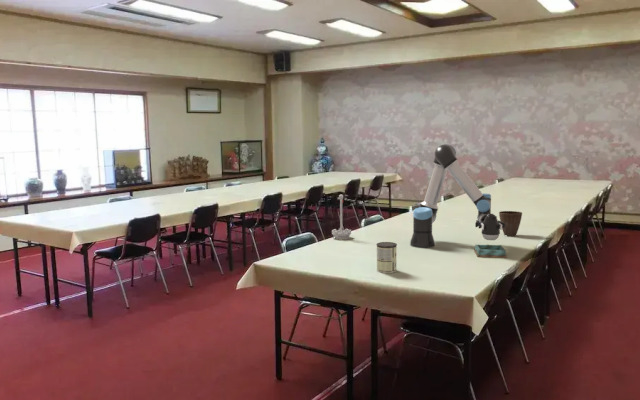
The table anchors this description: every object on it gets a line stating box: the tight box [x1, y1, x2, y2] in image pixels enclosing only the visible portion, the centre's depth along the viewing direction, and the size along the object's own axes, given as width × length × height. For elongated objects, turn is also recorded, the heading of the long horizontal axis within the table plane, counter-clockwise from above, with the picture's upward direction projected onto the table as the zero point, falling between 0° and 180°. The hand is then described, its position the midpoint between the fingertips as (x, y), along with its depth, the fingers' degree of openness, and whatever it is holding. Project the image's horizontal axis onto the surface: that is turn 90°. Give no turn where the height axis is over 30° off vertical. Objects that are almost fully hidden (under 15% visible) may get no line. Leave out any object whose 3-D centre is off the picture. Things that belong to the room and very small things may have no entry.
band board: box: [473, 244, 508, 259], centre depth 310 cm, size 16×16×4 cm
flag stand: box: [331, 194, 352, 240], centre depth 362 cm, size 13×13×30 cm
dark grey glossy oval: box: [480, 213, 501, 241], centre depth 308 cm, size 10×10×15 cm
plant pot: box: [498, 210, 523, 237], centre depth 365 cm, size 15×15×16 cm
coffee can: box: [376, 241, 398, 274], centre depth 275 cm, size 10×10×14 cm
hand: (492, 227), depth 304 cm, fingers closed on dark grey glossy oval, 9 cm apart
